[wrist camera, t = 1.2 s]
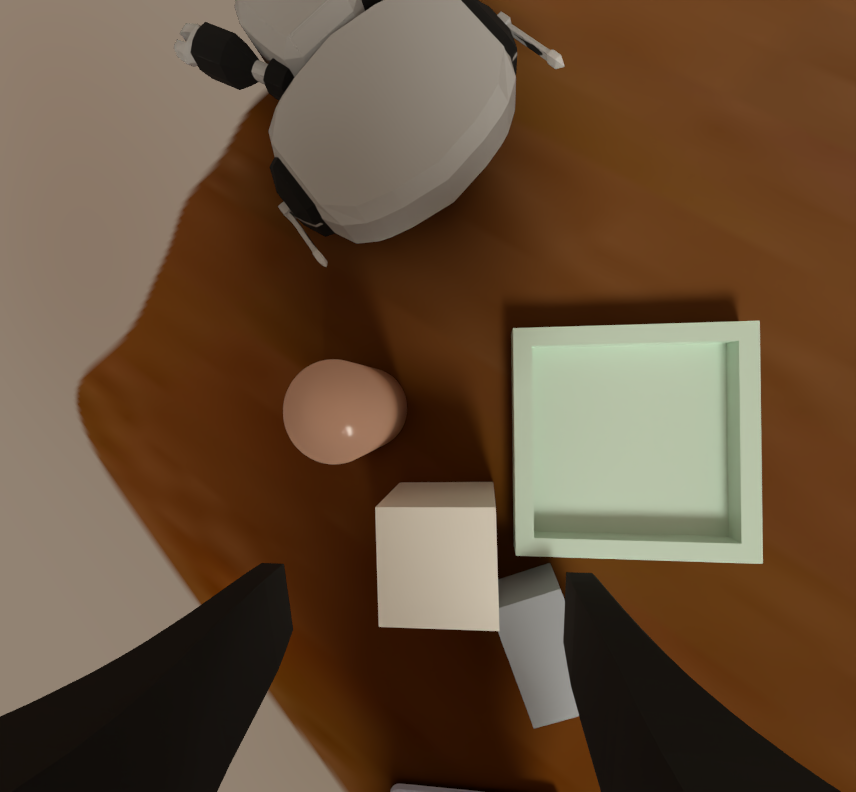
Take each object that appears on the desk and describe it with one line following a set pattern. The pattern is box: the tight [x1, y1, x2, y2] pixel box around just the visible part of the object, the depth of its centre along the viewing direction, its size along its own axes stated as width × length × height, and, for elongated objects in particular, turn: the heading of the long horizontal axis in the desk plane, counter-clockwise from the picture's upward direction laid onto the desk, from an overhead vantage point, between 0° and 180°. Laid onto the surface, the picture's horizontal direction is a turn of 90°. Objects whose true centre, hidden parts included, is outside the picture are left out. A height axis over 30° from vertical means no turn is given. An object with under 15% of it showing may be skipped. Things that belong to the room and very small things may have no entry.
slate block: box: [498, 563, 579, 728], centre depth 20 cm, size 5×3×3 cm, turn 21°
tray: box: [511, 321, 763, 564], centre depth 20 cm, size 10×10×1 cm
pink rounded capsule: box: [283, 359, 407, 464], centre depth 19 cm, size 4×4×5 cm
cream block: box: [375, 482, 500, 631], centre depth 19 cm, size 4×4×5 cm
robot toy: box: [174, 0, 565, 267], centre depth 20 cm, size 12×4×15 cm
